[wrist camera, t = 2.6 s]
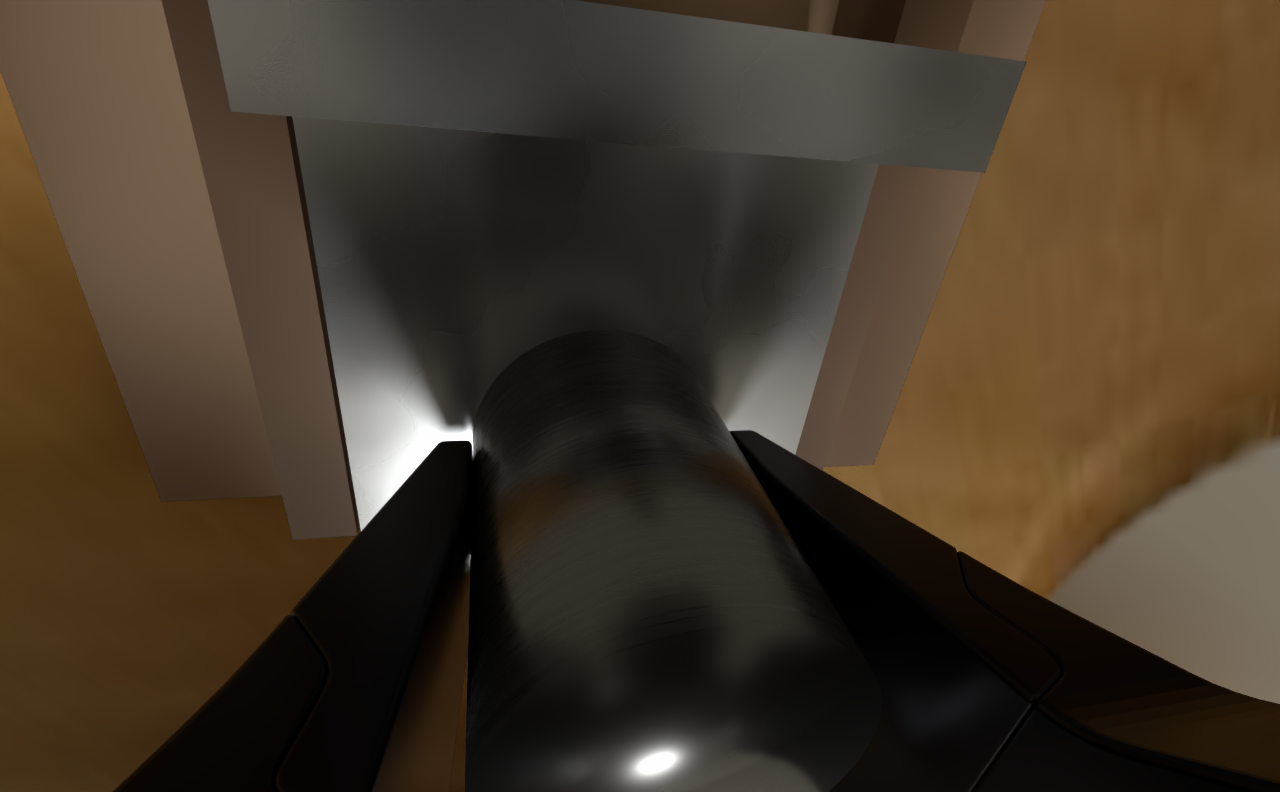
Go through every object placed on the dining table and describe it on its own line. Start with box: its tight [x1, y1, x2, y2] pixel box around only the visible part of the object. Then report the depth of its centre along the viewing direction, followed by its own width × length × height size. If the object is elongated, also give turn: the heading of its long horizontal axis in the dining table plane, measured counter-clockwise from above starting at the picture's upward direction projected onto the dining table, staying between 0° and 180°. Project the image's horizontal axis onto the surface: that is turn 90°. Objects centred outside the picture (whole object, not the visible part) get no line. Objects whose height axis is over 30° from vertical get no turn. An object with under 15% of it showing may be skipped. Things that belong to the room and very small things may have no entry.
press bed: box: [0, 0, 1046, 540], centre depth 9 cm, size 15×16×3 cm
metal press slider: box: [208, 0, 1026, 792], centre depth 7 cm, size 7×8×7 cm
